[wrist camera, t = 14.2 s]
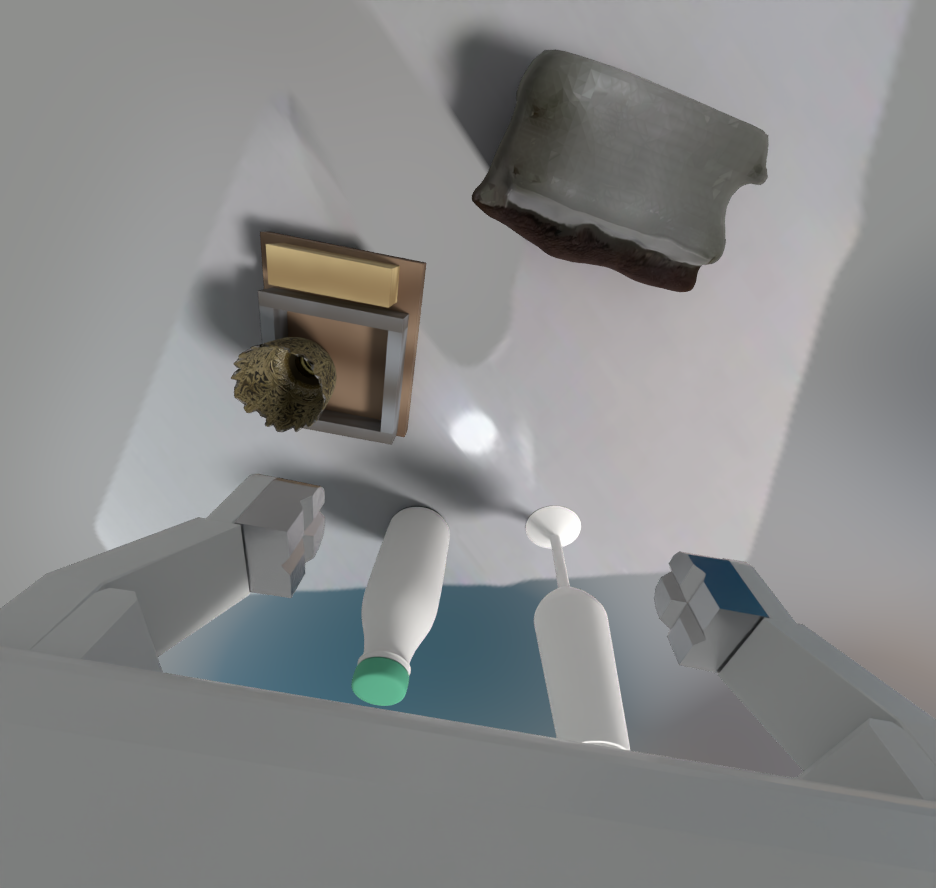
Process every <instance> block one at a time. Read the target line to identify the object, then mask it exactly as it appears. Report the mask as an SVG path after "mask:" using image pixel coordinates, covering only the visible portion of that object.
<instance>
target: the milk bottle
mask: <svg viewBox="0 0 936 888" xmlns="http://www.w3.org/2000/svg"><path fill="white" fill-rule="evenodd" d="M449 538H450V531H449V527H448V525H447V523H446V521H445V520H444V519H443V517H442V516H440V515H439V514H438V513H436V512H435V511H433V510H431V509H428V508H424V507H410V508H406V509H404V510H401V511H400V512H398V513H397V514H396V515H395V516H394V517H393V518H392V519H391V521H390V524H389V526H388V528H387V531H386V534H385V536H384V539H383V542H382V545H381V547H380V550H379V553H378V555H377V558H376V561H375V564H374V567H373V569H372V572H371V575H370V578H369V581H368V584H367V587H366V590H365V594H364V598H363V604H362V624H363V630H364V640H365V643H364V654H363V655H362V656H361V657H360V658H359V660H358V666H357V667H356V670H355V672H354V675H353V679H352V690H353V692H354V693H355V694H356V696H358V697H359V698H360V699H362V700H363V701H365V702H368V703H371V704H375V705H382V706H386V705H393V704H395V703H398V702H400V701H401V700H402V699H403V698H404V696H405V694H406V691H407V687H408V682H409V675H410V672H411V668H410V665H409V663H410V660H411V658H412V656H413V654H414V652H415V650H416V649H417V647H418V646H419V645H420V643H421V642H422V640H423V639H424V638H425V637H426V635H427V634H428V632H429V630H430V629H431V626H432V625H433V622H434V619H435V617H436V613H437V610H438V605H439V600H440V595H441V589H442V583H443V578H444V571H445V565H446V559H447V552H448V546H449Z"/></svg>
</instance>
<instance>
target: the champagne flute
mask: <svg viewBox="0 0 936 888" xmlns="http://www.w3.org/2000/svg"><path fill="white" fill-rule="evenodd" d="M580 530H581V522H580V519H579V517H578V516H577V515H576V514H575V513H574V512H573V511H572V510H570V509H568V508H565V507H561V506H548V507H544V508H541V509H539V510H537V511H535V512H534V513H533V514H532V515H531V516H530V517H529V518H528V520H527V523H526V533H527V536H528V537H529V539H530V540H531V541H532V542H533V543H535V544H536V545H538V546H541V547H544V548H552V553H553V559H554V565H555V571H556V577H557V583H558V588H557V589H555V590H554V591H552V592H550V593H549V594H547V595H546V596H545V598H544V599H543V600H542V601H541V602H540V604H539V606H538V607H537V609H536V612H535V615H534V626H535V631H536V635H537V641H538V646H539V650H540V655H541V661H542V666H543V671H544V675H545V681H546V685H547V691H548V696H549V701H550V706H551V711H552V716H553V721H554V726H555V731H556V736H557V739H563V740H569V741H575V742H582V743H588V744H594V745H600V746H606V747H612V748H618V749H624V750H630V746H629V740H628V734H627V729H626V723H625V717H624V711H623V705H622V699H621V693H620V687H619V682H618V676H617V670H616V664H615V659H614V652H613V647H612V641H611V635H610V629H609V624H608V617H607V613H606V611H605V610H604V608H603V606H602V605H601V604H600V602H599V601H597V600H596V599H595V598H594V597H593V596H591V595H590V594H588V593H587V592H585V591H583V590H581V589H577V588H573V587H570V585H569V580H568V575H567V570H566V565H565V560H564V555H563V550H562V547H563V546H566V545H568V544H570V543H571V542H573V541H574V540H575V539H576V538H577V537H578V535H579V533H580Z"/></svg>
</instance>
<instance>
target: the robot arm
mask: <svg viewBox="0 0 936 888" xmlns="http://www.w3.org/2000/svg"><path fill="white" fill-rule="evenodd" d="M324 502H325V493H324V489H323V488H322V486H317V485H312V484H307V483H302V482H297V481H293V480H288V479H283V478H276V477H272V476H266V475H261V474H253V475H250V476H249V477H248V478H247V479H246V480H245V481H244V482H242V483H241V484H240V485H239V486H238V487H237V488H236V489H235V490H234V491H233V492H232V493H231V494H230V495H229V496H228V497H227V498H226V499H225V500H224V501H223V502H222V503H221V504H220V505H219V506H218V507H217V508H216V509H215V510H214V511H213V512H212V513H211V514H210V515H209V516H208V517H207V518H200V517H198V518H195V519H192V520H190V521H187V522H184V523H182V524H179V525H176V526H174V527H171V528H168V529H165V530H163V531H160V532H157V533H155V534H152V535H149V536H147V537H144V538H141V539H139V540H136V541H133V542H130V543H128V544H125V545H122V546H120V547H117V548H114V549H112V550H109V551H106V552H104V553H101V554H98V555H96V556H93V557H90V558H88V559H85V560H82V561H79V562H77V563H74V564H71V565H69V566H66V567H63V568H60V569H58V570H55V571H53V572H50V573H47V574H45V575H44V576H43V577H41V578H40V579H39V580H37V581H36V582H35V583H33V584H32V585H31V586H29V587H28V588H27V589H25V590H24V591H23V592H21V593H20V594H19V595H17V596H16V597H15V598H14V599H12V600H11V601H9V602H8V603H7V604H6V605H4V606H3V607H2V608H0V888H936V719H935V718H933V717H932V716H930V715H929V714H928V713H926V712H925V711H923V710H922V709H920V708H919V707H918V706H916V705H915V704H914V703H912V702H911V701H909V700H908V699H907V698H905V697H904V696H902V695H901V694H900V693H898V692H897V691H895V690H894V689H893V688H891V687H890V686H888V685H887V684H886V683H884V682H883V681H881V680H880V679H878V678H877V677H876V676H875V675H873V674H872V673H870V672H869V671H868V670H866V669H865V668H863V667H862V666H861V665H859V664H858V663H856V662H855V661H854V660H852V659H851V658H849V657H848V656H847V655H845V654H844V653H842V652H841V651H840V650H838V649H837V648H835V647H834V646H833V645H831V644H830V643H828V642H827V641H826V640H824V639H823V638H822V637H820V636H819V635H817V634H816V633H815V632H813V631H812V630H810V629H809V628H808V627H806V626H805V625H803V624H797V623H796V622H795V621H794V620H793V619H792V617H791V616H790V614H789V613H788V612H787V610H786V609H785V608H784V607H783V605H782V604H781V603H780V601H779V600H778V599H777V597H776V596H775V595H774V594H773V592H772V591H771V590H770V588H769V587H768V586H767V584H766V583H765V582H764V580H763V579H762V578H761V577H760V575H759V574H758V573H757V572H756V570H755V569H754V568H753V567H752V566H751V565H750V564H748V563H747V562H743V561H737V560H730V559H724V558H723V559H720V558H714V557H709V556H703V555H697V554H692V553H686V552H680V551H679V552H678V553H676V554H675V555H674V556H673V557H672V559H671V561H670V562H669V566H670V569H671V572H669V573H668V574H666V575H664V576H662V577H661V578H660V580H659V582H658V584H657V586H656V588H655V596H654V602H655V607H656V611H657V614H658V616H659V619H660V620H661V621H662V622H663V623H664V624H666V625H667V627H669V628H670V630H669V633H668V635H667V638H668V640H669V643H670V645H671V647H672V650H673V652H674V654H675V656H676V659H677V661H678V664H679V665H681V666H685V667H691V668H696V669H701V670H705V671H710V672H715V673H719V674H718V676H719V677H720V678H721V679H722V680H723V682H724V683H725V684H726V685H727V686H728V687H729V688H730V689H731V690H732V692H733V693H734V694H735V695H736V696H737V697H738V698H739V700H741V702H742V703H743V704H744V705H745V706H746V707H747V709H748V710H749V711H750V712H751V713H752V714H753V715H754V716H755V717H756V719H758V721H759V722H760V723H761V724H762V725H763V726H764V728H765V729H766V730H767V731H768V732H769V733H770V734H771V735H772V737H773V738H774V739H775V740H776V741H777V742H778V743H779V744H780V746H781V747H782V748H783V749H784V750H785V751H786V752H787V753H788V755H789V756H790V757H791V758H792V759H793V760H794V761H795V762H796V764H797V765H798V766H799V767H800V768H801V769H802V770H803V771H804V772H802V773H801V774H800V775H799V776H797V777H796V778H792V777H786V776H780V775H773V774H768V773H762V772H756V771H750V770H743V769H738V768H732V767H726V766H720V765H714V764H708V763H702V762H696V761H690V760H684V759H678V758H671V757H666V756H660V755H654V754H648V753H642V752H636V751H630V750H624V749H618V748H612V747H606V746H600V745H594V744H588V743H582V742H575V741H569V740H563V739H557V738H551V737H545V736H539V735H533V734H527V733H521V732H515V731H510V730H504V729H497V728H492V727H486V726H480V725H473V724H467V723H461V722H455V721H450V720H443V719H438V718H431V717H426V716H420V715H413V714H407V713H401V712H396V711H390V710H384V709H377V708H372V707H365V706H360V705H353V704H348V703H342V702H336V701H330V700H324V699H318V698H312V697H306V696H300V695H294V694H288V693H282V692H276V691H270V690H264V689H257V688H252V687H246V686H240V685H234V684H228V683H222V682H216V681H210V680H204V679H198V678H192V677H185V676H180V675H174V674H168V673H163V671H162V668H161V666H160V663H159V660H158V657H159V656H160V655H162V654H163V653H165V652H166V651H168V650H169V649H170V648H172V647H173V646H175V645H176V644H178V643H179V642H181V641H182V640H184V639H185V638H187V637H188V636H190V635H191V634H192V633H194V632H195V631H197V630H198V629H200V628H201V627H203V626H204V625H206V624H207V623H208V622H210V621H212V620H213V619H214V618H216V617H217V616H219V615H220V614H222V613H223V612H225V611H226V610H228V609H229V608H231V607H232V606H234V605H235V604H236V603H238V602H239V601H241V600H242V599H244V598H245V597H247V596H248V595H250V592H253V593H260V594H267V595H274V596H281V597H288V598H292V596H293V594H294V592H295V591H296V589H297V587H298V585H299V583H300V582H301V580H302V578H303V576H304V575H305V563H306V562H308V561H309V560H311V559H313V558H314V557H315V555H316V553H317V551H318V549H319V547H320V544H321V541H322V538H323V534H324V528H325V517H324V515H323V514H322V513H321V511H320V509H321V507H322V506H323V504H324Z"/></svg>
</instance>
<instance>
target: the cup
mask: <svg viewBox="0 0 936 888" xmlns="http://www.w3.org/2000/svg"><path fill="white" fill-rule="evenodd" d="M250 348H251V349H249V350H247V351H244V352H243V353H241V354H240V355H239V358H238V360H237V361H236V362H235V363H234V365H235V366H236V367H237V368H239V369H238V370H237V371H235V372H234V374H233V375H232V377H231V379H234V380H237V381H236V386H235V387H234V396H235V398H236V399H237V400H239V401H240V402H241V403H243V404H244V410H245V411H246V412H247V413H252V412H254V411H257V412H258V413H259V414H260V416H261V417H264V418H266V423H265V426H267V427H270V426H273V425H274V427H275V429H276V431H277V432H284V431H287V430H289V429H292V428H294V430H295V432H297V431H299V430H301V429H302V428H303V427H304V426H305V425H307V427H310V426H311V425H312V424H313V423H315V422H316V421H317V420H318V419H319V418H320V416H321V414H322V412H323V411H324V409H325V407H326V405H327V404H328V402H329V400H330V398H331V396H332V394H333V391H334V389H335V385H336V378H337V376H336V369H335V365H334V363H333V360H332V358H331V357H330V355H329V353H328V352H327V351H326V350H325V349H324V348H323V347H321V346H320V345H318V344H317V343H315V342H313V341H311V340H308V339H305V338H300V337H286V338H281V339H277V340H273V341H270V342H267V343H264V344H261V345H257V346H253V347H250ZM309 363H310V364H311V365H310V364H309Z"/></svg>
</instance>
